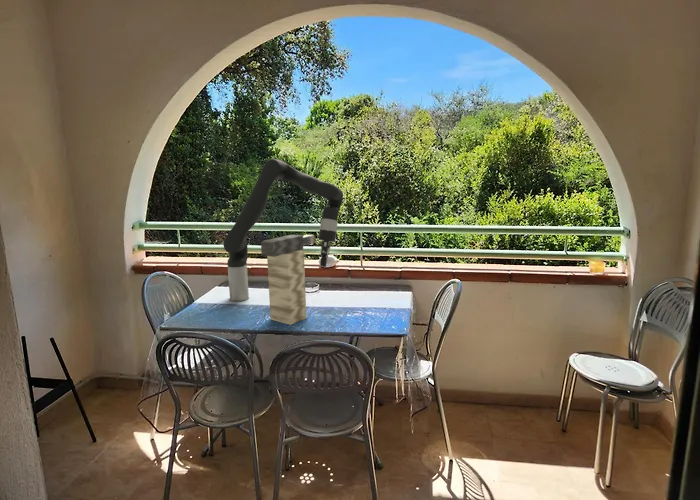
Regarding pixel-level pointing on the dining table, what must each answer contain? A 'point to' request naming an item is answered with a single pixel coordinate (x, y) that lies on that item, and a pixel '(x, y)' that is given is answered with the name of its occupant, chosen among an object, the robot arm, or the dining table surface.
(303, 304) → the stand
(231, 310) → the dining table surface
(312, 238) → the light grey bar
